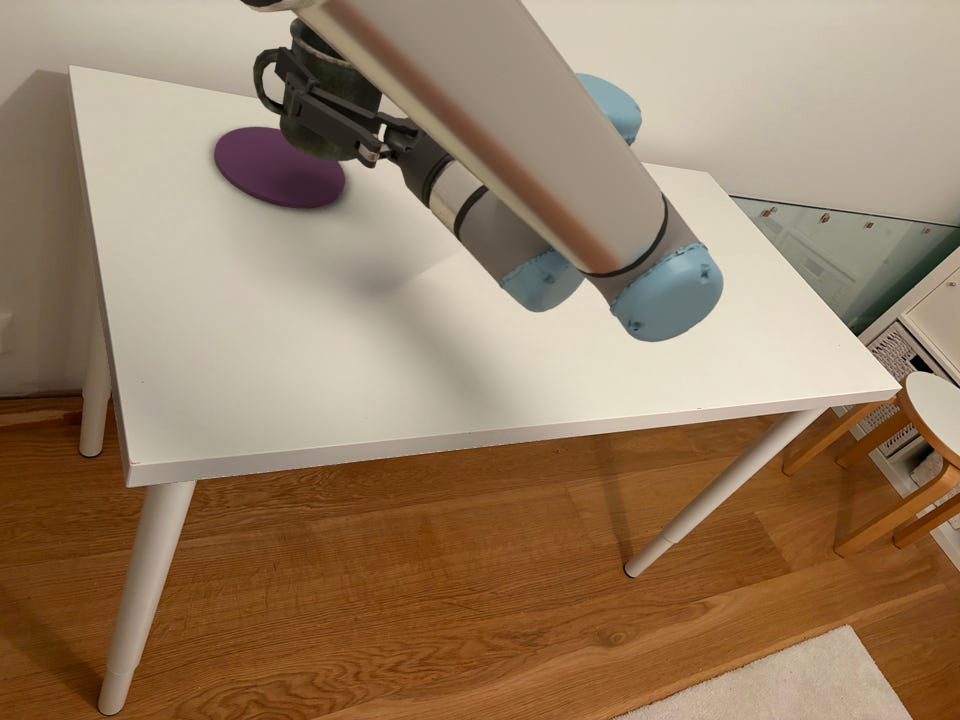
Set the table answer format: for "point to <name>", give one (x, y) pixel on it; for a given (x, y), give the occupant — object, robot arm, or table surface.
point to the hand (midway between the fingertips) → (333, 59)
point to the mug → (334, 80)
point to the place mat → (277, 169)
